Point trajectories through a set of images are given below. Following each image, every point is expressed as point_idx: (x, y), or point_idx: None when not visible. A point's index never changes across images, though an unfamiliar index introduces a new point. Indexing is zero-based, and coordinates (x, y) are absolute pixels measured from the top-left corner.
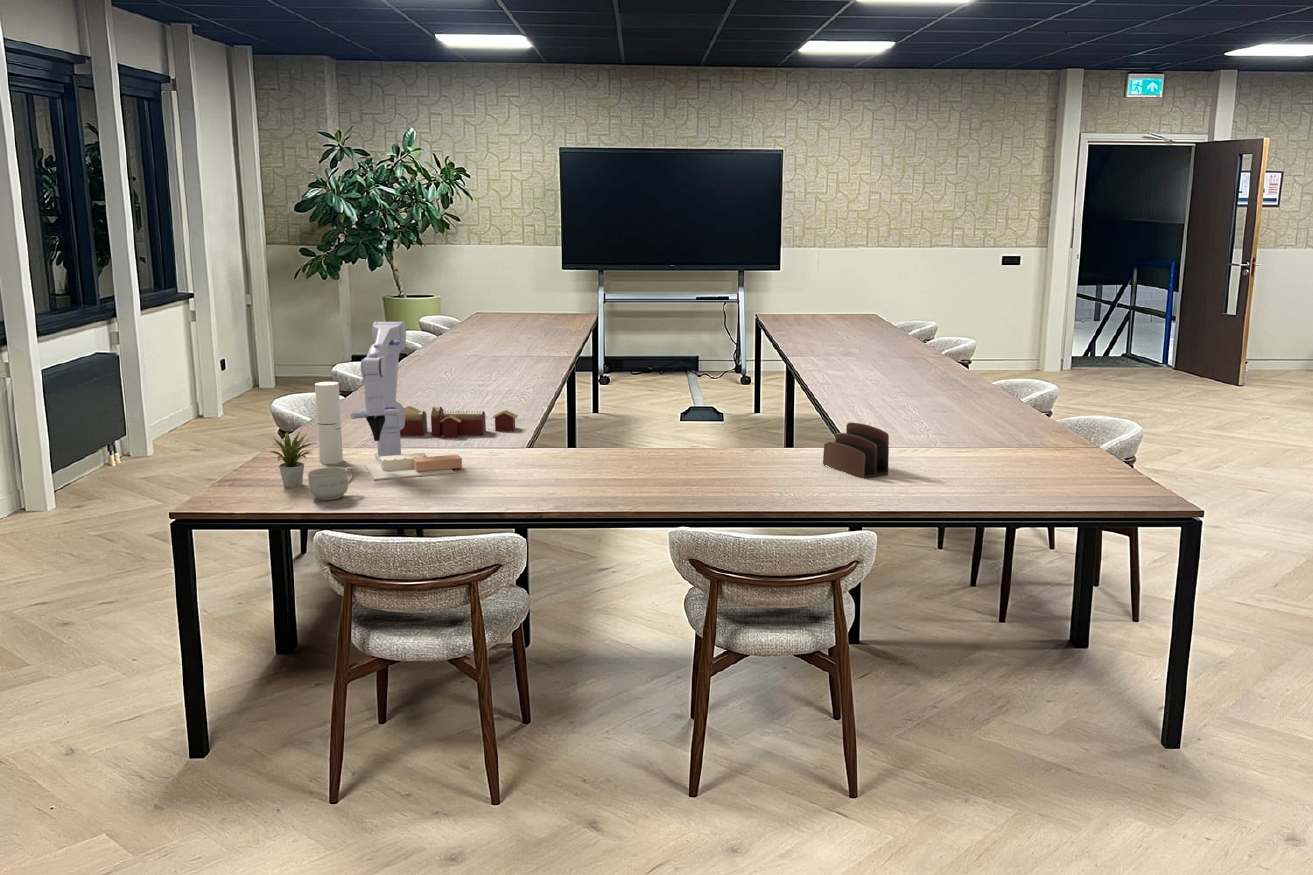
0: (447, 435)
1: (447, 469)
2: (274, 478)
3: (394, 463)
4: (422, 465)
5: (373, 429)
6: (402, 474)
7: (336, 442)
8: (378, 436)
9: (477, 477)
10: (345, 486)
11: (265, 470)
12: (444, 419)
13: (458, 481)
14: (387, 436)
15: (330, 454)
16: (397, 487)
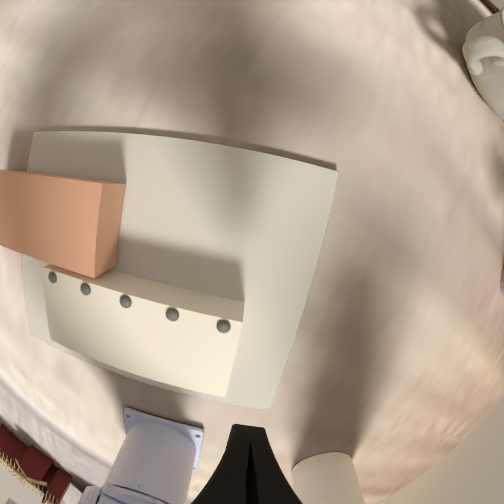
0: (44, 458)
1: None
2: (495, 360)
3: (183, 300)
4: (88, 180)
5: (285, 494)
6: (192, 176)
7: (329, 501)
8: (240, 445)
9: (26, 65)
10: (476, 23)
11: (459, 426)
12: (37, 481)
13: (79, 31)
14: (152, 485)
15: (343, 472)
16: (287, 24)
